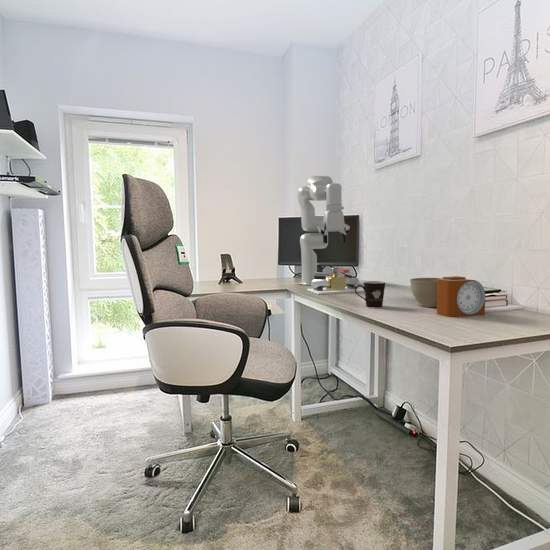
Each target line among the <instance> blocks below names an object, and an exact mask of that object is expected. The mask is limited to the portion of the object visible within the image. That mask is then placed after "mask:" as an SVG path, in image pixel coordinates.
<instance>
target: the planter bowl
mask: <svg viewBox="0 0 550 550" xmlns="http://www.w3.org/2000/svg"><path fill="white" fill-rule="evenodd" d="M440 278H441V277H416V278H410V279H409V281H410V289H411V292H412V295H413V297H414V299H415V300H416V301H417V304H418V306H420V307H425V308H437V285H438V279H440Z"/></svg>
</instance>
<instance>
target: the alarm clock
mask: <svg viewBox="0 0 550 550" xmlns="http://www.w3.org/2000/svg"><path fill="white" fill-rule="evenodd" d="M439 278H440V279H438V285H437V307H436V314H437V315H440V316H443V315H444V317H447V316H448V317H449V318H458V317H459V316H461V317H469V316H470V317H472V316H481V315H482V316H485V313H486V291H485V288H484V286H483V284H482V283H481V282H480V281H477V280H475V279H468V278H466V276H458V275H456V276H443V277H439Z"/></svg>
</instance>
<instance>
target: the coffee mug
mask: <svg viewBox="0 0 550 550" xmlns="http://www.w3.org/2000/svg"><path fill="white" fill-rule="evenodd" d="M360 287H361V289H364V291H365V292H364V297H363V296H362V295H360V294H359V292H356V289H357V288H360ZM385 287H386V281H380V280H367V281H363V285H361V284H358V286H356V287H355V292H354V293H355V294H356V295H357V296H358V297H360V298H361V299H363V300H364V302H365V306H366V307H367V306H368V307H367V308H371V307H380V308H382V307H383V304H384V295H385Z"/></svg>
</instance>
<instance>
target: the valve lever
mask: <svg viewBox="0 0 550 550" xmlns="http://www.w3.org/2000/svg"><path fill="white" fill-rule="evenodd" d="M333 271H337V273H341V274H349V273H350V269H347V268H339V267H331V272H333Z"/></svg>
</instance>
